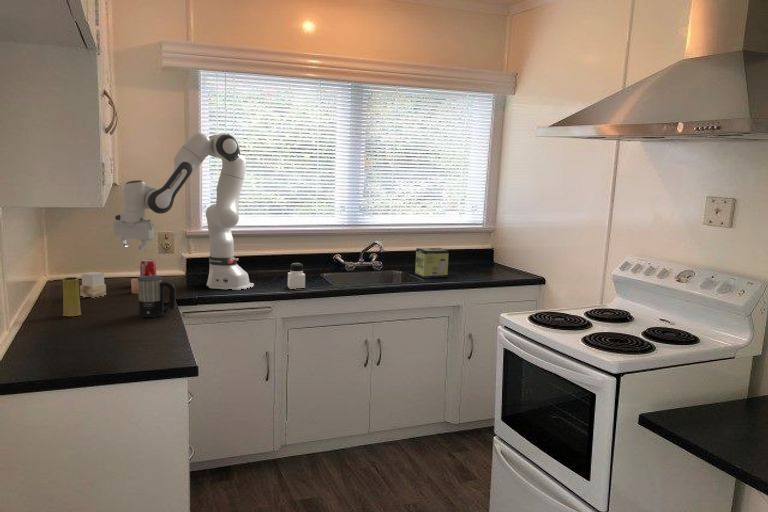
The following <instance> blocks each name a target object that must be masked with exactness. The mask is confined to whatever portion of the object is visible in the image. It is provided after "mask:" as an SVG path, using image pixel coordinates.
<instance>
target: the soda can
mask: <svg viewBox="0 0 768 512" xmlns="http://www.w3.org/2000/svg"><path fill="white" fill-rule="evenodd" d="M139 265H140V266H139V272H140V273H139V275H140V276H139V277H142V276H157V263H156V261H155V259H153V258H145V259H141V261H140V264H139Z"/></svg>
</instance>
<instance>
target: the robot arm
mask: <svg viewBox="0 0 768 512" xmlns="http://www.w3.org/2000/svg"><path fill="white" fill-rule="evenodd" d="M208 156H211V157H213V158H217V159H221V163H222V165H221V169H220V174H219V177H218V181H217V186H216V200H215V203H213V204H211V205H210V206H208V207H207V209H206V210H205V218H206V222H207V223H206V224H207V230H208V235H209V256H208V263H209V271H208V272H209V273H208V278H207V282H206V286H207V287H208V289H213V290H214V289H215V290H216V289H217V290H218V289H219V290H228V289H232V291H242V290H241V289H244V290H248V289H250V287H251V288H254V286H255V284H254V283H253V282H250V278H249V274H248V272H247V271H246V270H244V269H243V268H242V267H241V266H240V265H239V264H238V262H237V261H239V258H238V257H237V258H236V257H235V255H234V253H235V252H234V251H235V247H234V245H235V243H234V241H235V240H234V237H233V234H232V233H233V232H232V228H234V227H235V226H237V224H238V223H239V218H240V216H239V207H240V195H241V192H242V187H243V184H244V180H245V174H246V168H247V167H246V166H247V160H246V158H245V157H244V156H243V155H241V151H240V143H239V141H238V139H237V138H236V137H235V136H233V135H231V134H228V133H227V134H226V133H219V134H213V135H210V136H208V135H206V134H204V133H202V132H196V133H195V134H193V135H192V136H191V137H190V138H189V139H187V140H186V141H185V142H184V144H182V146H181V147H180V148H179V149H178V151H177V152H176V153H175V155H174V158H173V165H174V170H173V171H172V174H171V175H170V176H169V177H168V179H167V180H166V182H165V183H164V184H163V185H162V186H161V187H160V188H155V187H153V186H151V185H149V184H147V183H146V182H145V181H144V180H139V179H138V180H130V181H127V182H126V183H125V184H124V187H123V192H122V193H123V194H122V195H123V196H122V198H123V199H122V201H123V208H122V209H123V210H122V212H121V213H119V214H115V215H114V216H113V220H114V223H113V235H114V237H117V238H118V237H119V238H120V241H121V243H122V248H125V249H127V248H129V243H127V240H128V239H133V240H140V243H141V244H140V245H138V246H139V247H138V250H139V251H144V250H145V247H146V245H147V243H148V242H149V241H153V240H154V239H155V231H154V230H155V229H154V224H153V221H152V220H151V219H149V218H146V209H149V210H150V211H152V212H153V213H156V214H159V215H160V214H161V215H163V214H166V213H168V212H169V211H171V209H172V208H173V204H174V202H175V198H176V196H177V194H178V192H179V191H180V190H181V188H182V187H183V185H184V184H185V183H186V181H187V180H188V179H189V177H190V176H192V175H193V173H194V172H195V171H196V170H197V169H199V167H200V166H201V164H202V163H203V162H204V161H205V159H206V158H207V157H208ZM247 288H248V289H247Z"/></svg>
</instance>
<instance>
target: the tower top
mask: <svg viewBox="0 0 768 512" xmlns="http://www.w3.org/2000/svg"><path fill="white" fill-rule="evenodd" d="M104 284H105V273H104V272H99V271H98V272H97V271H90V272H84V273H81V285H83V286H90V287H95V286H99V285H104Z"/></svg>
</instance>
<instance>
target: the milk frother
mask: <svg viewBox="0 0 768 512" xmlns="http://www.w3.org/2000/svg"><path fill="white" fill-rule="evenodd" d="M136 278H137V280H138V293H139V294H138V314H139V316H141V317H140V318H143V317H154V318H157V317H156V316H159V317H162V316H163V314H164V315H165V313H164V311H165V310H168V308H169V309H170V310H174V309H175V307H176V294H177V292H176V291H177V289H176V286H175V285H176V284H174V283H173V282H171V281H170V280H163V276H161V275H156V276H142V277H140V276H139V277H136ZM164 287H165V288H168V291H169V298H168V299H169V301H165V300H164ZM161 315H162V316H161ZM139 316H138V317H139Z"/></svg>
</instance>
